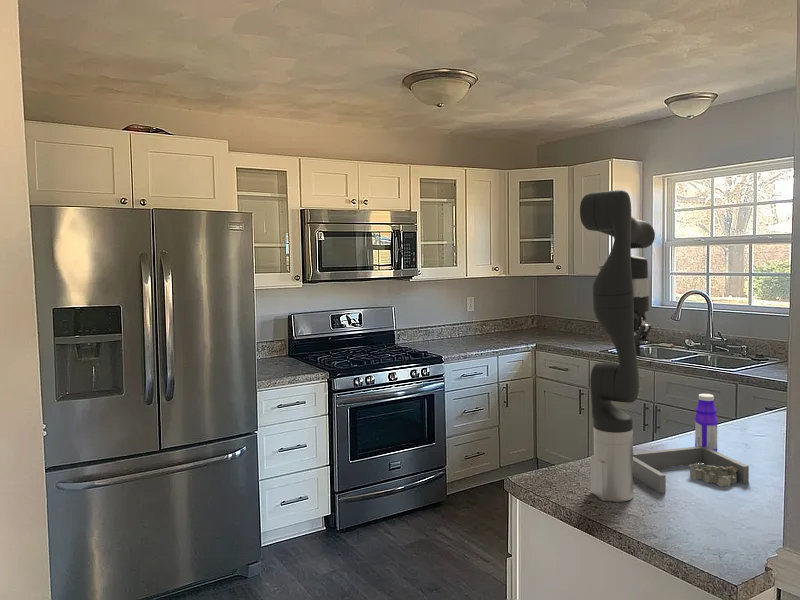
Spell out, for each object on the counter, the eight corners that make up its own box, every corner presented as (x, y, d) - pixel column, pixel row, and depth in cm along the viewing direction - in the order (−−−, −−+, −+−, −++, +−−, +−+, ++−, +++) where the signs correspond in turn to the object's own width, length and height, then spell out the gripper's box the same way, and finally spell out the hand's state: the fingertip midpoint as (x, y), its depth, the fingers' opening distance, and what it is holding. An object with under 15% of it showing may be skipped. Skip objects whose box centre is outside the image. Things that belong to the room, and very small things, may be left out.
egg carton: (740, 482, 161) (740, 467, 160) (725, 489, 157) (725, 474, 156) (701, 471, 170) (701, 456, 169) (685, 477, 166) (685, 462, 165)
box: (660, 493, 155) (660, 475, 155) (623, 469, 172) (623, 454, 172) (748, 483, 159) (748, 466, 159) (703, 461, 177) (703, 445, 176)
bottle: (720, 456, 180) (720, 397, 179) (699, 456, 181) (699, 397, 180) (712, 449, 187) (712, 392, 186) (692, 448, 188) (692, 392, 187)
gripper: (610, 293, 180) (611, 352, 181) (635, 296, 167) (635, 360, 168) (634, 292, 181) (634, 351, 183) (660, 295, 168) (660, 358, 170)
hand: (635, 355), depth 175 cm, fingers closed
